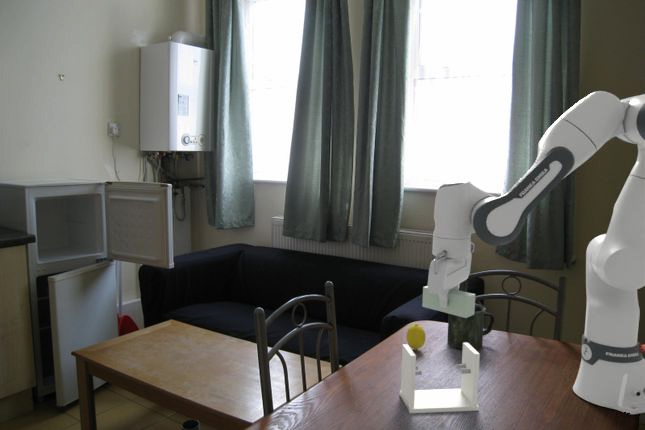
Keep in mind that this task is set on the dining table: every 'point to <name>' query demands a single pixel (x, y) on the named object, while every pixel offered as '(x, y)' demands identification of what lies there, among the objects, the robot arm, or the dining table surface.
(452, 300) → the shelf board
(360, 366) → the dining table surface
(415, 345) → the lemon
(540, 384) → the dining table surface
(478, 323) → the mug
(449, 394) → the shelf unit
